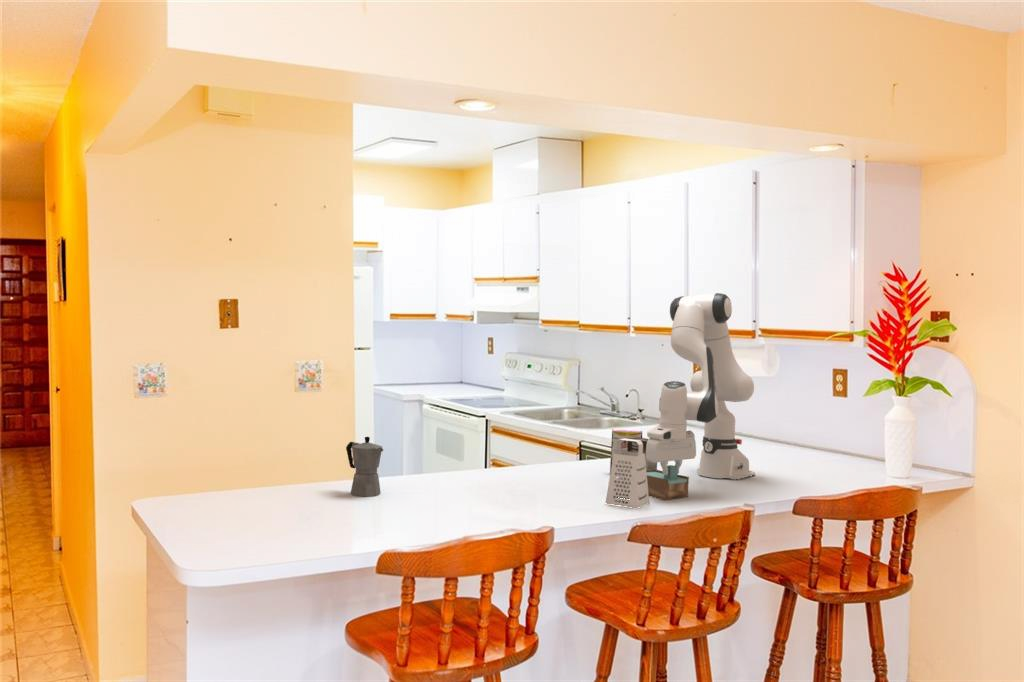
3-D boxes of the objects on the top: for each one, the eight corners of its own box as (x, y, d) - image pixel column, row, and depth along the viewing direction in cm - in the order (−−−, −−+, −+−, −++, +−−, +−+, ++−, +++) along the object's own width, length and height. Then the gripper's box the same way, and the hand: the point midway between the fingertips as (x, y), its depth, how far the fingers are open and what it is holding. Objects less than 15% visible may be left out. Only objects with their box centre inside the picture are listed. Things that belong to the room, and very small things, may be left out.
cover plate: (654, 474, 306) (655, 459, 306) (686, 482, 295) (687, 466, 295) (636, 476, 301) (637, 461, 301) (668, 484, 290) (669, 468, 290)
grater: (636, 509, 275) (639, 443, 275) (605, 504, 280) (607, 440, 280) (649, 503, 284) (651, 439, 284) (618, 498, 290) (620, 436, 289)
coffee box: (624, 484, 313) (626, 438, 313) (635, 482, 318) (637, 436, 317) (646, 488, 307) (648, 441, 307) (657, 486, 312) (659, 440, 311)
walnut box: (652, 487, 309) (653, 468, 309) (687, 496, 296) (688, 477, 296) (629, 490, 302) (629, 471, 302) (664, 500, 290) (665, 479, 289)
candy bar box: (609, 475, 330) (611, 430, 329) (609, 472, 335) (611, 428, 334) (640, 477, 329) (642, 432, 328) (640, 474, 334) (642, 430, 333)
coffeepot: (391, 494, 283) (393, 437, 283) (370, 499, 276) (371, 440, 275) (356, 487, 292) (358, 432, 292) (334, 492, 285) (336, 435, 284)
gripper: (687, 428, 303) (685, 469, 304) (643, 432, 291) (641, 475, 291) (701, 431, 298) (699, 473, 299) (657, 434, 286) (655, 478, 286)
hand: (670, 474), depth 295 cm, fingers closed on cover plate, 3 cm apart
